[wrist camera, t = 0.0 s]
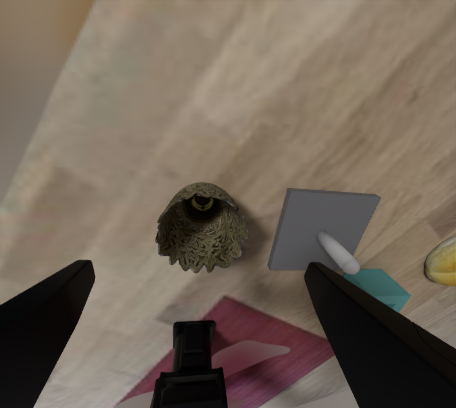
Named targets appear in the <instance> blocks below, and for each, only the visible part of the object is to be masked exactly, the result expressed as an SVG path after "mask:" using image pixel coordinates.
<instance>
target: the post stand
mask: <svg viewBox="0 0 456 408" xmlns="http://www.w3.org/2000/svg"><path fill="white" fill-rule="evenodd" d="M380 199H381V197H379V196H377V195H375V194H363V193H349V192H335V191H321V190H307V189H293V188H288V189H287V193H286V197H285V201H284V204H283V208H282V212H281V216H280V220H279V223H278V227H277V231H276V235H275V239H274V242H273V246H272V250H271V254H270V258H269V262H268V267H269V270H307V267H308V264H309V263H310V262H320V263H322V264H323V265H325V266H327V267H328V268H330V269H331V270H343V271H344V272H345V273H347V274H356V273H357V272H358V271H359V270H360V264H359V262H358V261H357V260H356V259H355V258H354V257H353V254H354V252H355V250H356V248H357V246H358V244H359V242H360V240H361V238H362V236H363V233H364V231H365V229H366V227H367V225H368V223H369V221H370V219H371V217H372V215H373V213H374V211H375V209H376V207H377V205H378V203H379V201H380Z"/></svg>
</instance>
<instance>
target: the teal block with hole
mask: <svg viewBox="0 0 456 408" xmlns="http://www.w3.org/2000/svg"><path fill="white" fill-rule="evenodd" d="M343 277H344V278H345V279H347V280H348V281H350V282H351V283H353V284H355V285H356V286H358V287H359V288H361V289H362V290H364V291H365V292H367V293H369V294H370V295H372V296H373V297H375V298H376V299H378V300H379V301H381V302H383V303H384V304H386V305H387V306H389V307H390V308H392V309H393V310H395V311H397V312H398V313H399V311H400V310H401V309H402V307H403V306H404V305H405V303H406V302H407V300H408V299H409V298H410V296H411V295H410V294H409V293H408V292H407V291H405V290H404V289H403V288H402V287H401V286H400V285H399V284H398V283H396V282H395V281H394V280H393V279H392V278H391V277H390V276H389V275H387V274H386V273H385V272H384V271H383V270H382V269H360V270H359V271H358V272H357V273H356V274H347V273H345V274H344V276H343Z"/></svg>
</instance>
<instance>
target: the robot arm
mask: <svg viewBox="0 0 456 408" xmlns="http://www.w3.org/2000/svg"><path fill="white" fill-rule="evenodd" d="M304 279H305V283H306V286H307V289H308V291H309V294H310V297H311V300H312V303H313V306H314V309H315V311H316V314H317V316H318V318H319V321H320V323H321V325H322V327H323V329H324V332H325V334H326V336H327V338H328V340H329V343H330V345H331V347H332V349H333V351H334V353H335V356H336V358H337V360H338V362H339V364H340V367H341V369H342V371H343V373H344V375H345V378H346V380H347V382H348V384H349V386H350V388H351V391H352V393H353V395H354V397H355V399H356V401H357V404H358V406H359V408H456V349H455V348H454V347H452V346H450V345H448V344H447V343H445V342H444V341H442V340H441V339H439V338H437V337H436V336H434V335H433V334H431V333H429V332H428V331H426V330H425V329H423V328H422V327H420V326H418V325H417V324H415V323H414V322H411V321H410V320H409V319H408V318H406V317H404V316H403V315H401V314H400V313H398V312H397V311H395V310H393V309H392V308H390V307H389V306H387V305H386V304H384V303H383V302H381V301H379V300H378V299H376V298H375V297H373V296H372V295H370V294H369V293H367V292H365V291H364V290H362V289H361V288H359V287H358V286H356V285H355V284H353V283H351V282H350V281H348V280H347V279H345V278H344V277H342V276H341V275H339V274H337V273H336V272H334V271H333V270H331V269H330V268H328V267H327V266H325V265H323V264H322V263H320V262H310V263H309V264H308V267H307V270H306V272H305V275H304ZM94 281H95V273H94V268H93V264H92V261H91V260H77V261H75V262H74V263H72V264H70V265H68V266H67V267H65V268H63V269H62V270H60V271H58V272H56V273H55V274H53V275H51V276H50V277H48V278H46V279H44V280H43V281H41V282H39V283H37V284H36V285H34V286H32V287H31V288H29V289H27V290H25V291H24V292H22V293H20V294H19V295H17V296H15V297H13V298H12V299H10V300H8V301H7V302H5V303H3V304H1V305H0V408H33V407H34V405H35V403H36V401H37V399H38V397H39V395H40V394H41V392H42V390H43V388H44V386H45V384H46V382H47V380H48V378H49V377H50V375H51V373H52V371H53V369H54V367H55V365H56V363H57V361H58V360H59V358H60V356H61V354H62V352H63V350H64V348H65V346H66V344H67V342H68V341H69V339H70V337H71V335H72V333H73V331H74V329H75V327H76V325H77V323H78V321H79V319H80V316H81V314H82V311H83V309H84V306H85V304H86V301H87V299H88V297H89V294H90V292H91V289H92V287H93V284H94ZM213 330H214V322H213V321H197V322H176V323H174V325H173V348H174V358H173V366H172V372H166V373H165V372H161V374H160V378H158V379H156V383H155V389H154V394H153V399H152V403H151V406H150V408H228V406H227V396H226V389H225V382H224V374H223V368H222V367H220V368H217V369H212V365H211V345H212V338H213Z"/></svg>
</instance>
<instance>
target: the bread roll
mask: <svg viewBox="0 0 456 408" xmlns="http://www.w3.org/2000/svg"><path fill="white" fill-rule="evenodd" d="M425 265H426V268H425V272H426V275H427V276H428V278H429V279H431V280H432V281H434V282H436V283H439V284H442V285H445V286H456V236H454V237H451V238H449V239H447V240H445V241H444V242H442V243H441V244H439V245H438V246H437V247H436V248H435V249H434V250H433V251H432V252H431V253H430V254H429V255H428V257H427V259H426V262H425Z"/></svg>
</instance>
